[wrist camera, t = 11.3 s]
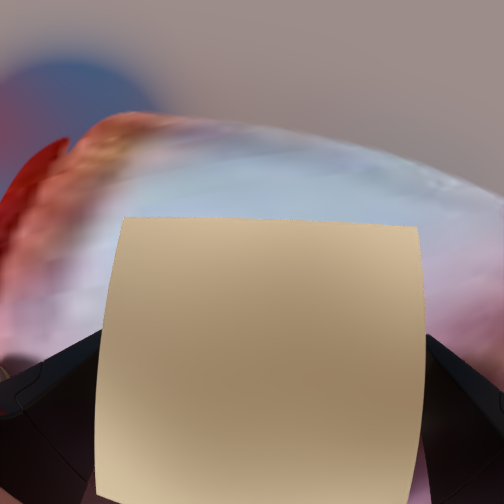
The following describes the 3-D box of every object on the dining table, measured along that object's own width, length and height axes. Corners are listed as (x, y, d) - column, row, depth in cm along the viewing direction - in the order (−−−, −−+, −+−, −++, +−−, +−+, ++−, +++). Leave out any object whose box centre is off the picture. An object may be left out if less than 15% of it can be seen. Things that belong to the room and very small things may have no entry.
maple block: (314, 412, 15) (401, 523, 3) (224, 406, 15) (96, 494, 3) (320, 325, 17) (417, 227, 5) (231, 321, 17) (124, 216, 5)
